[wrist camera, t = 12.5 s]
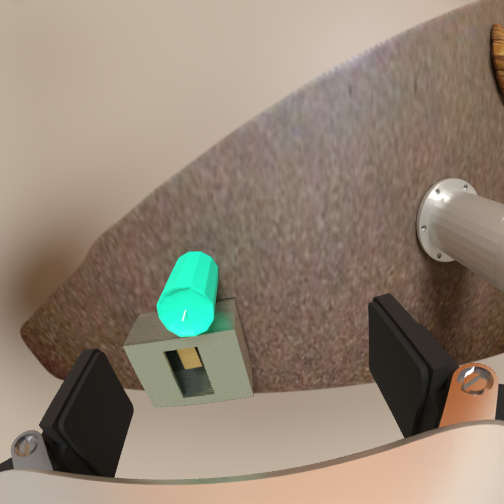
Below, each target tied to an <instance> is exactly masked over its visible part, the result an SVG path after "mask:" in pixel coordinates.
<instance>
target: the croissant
mask: <svg viewBox="0 0 504 504" xmlns="http://www.w3.org/2000/svg"><path fill="white" fill-rule="evenodd" d="M491 43H492V44H491V57H492V61H493V65H494V68H495V73H496V79H497V83H498V86H499V89H500V92H501V94H502V95H503V96H504V28H503V27H502V26H501V25H500V24H493V25H492V29H491Z"/></svg>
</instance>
